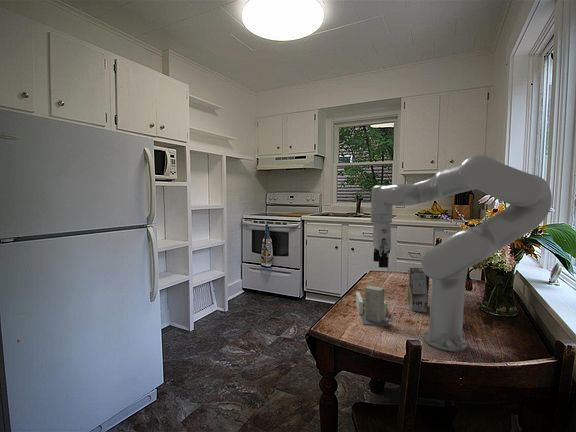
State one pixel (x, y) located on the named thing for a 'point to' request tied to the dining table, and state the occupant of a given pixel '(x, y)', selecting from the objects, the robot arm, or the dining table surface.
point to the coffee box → (418, 290)
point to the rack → (361, 301)
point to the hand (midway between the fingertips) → (380, 264)
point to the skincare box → (374, 303)
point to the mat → (368, 322)
